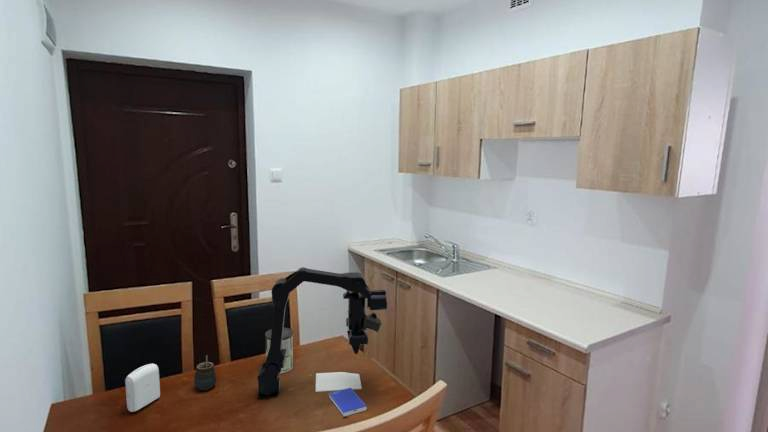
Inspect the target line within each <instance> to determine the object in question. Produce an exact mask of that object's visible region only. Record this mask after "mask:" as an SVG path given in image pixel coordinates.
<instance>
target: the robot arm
mask: <svg viewBox="0 0 768 432" xmlns="http://www.w3.org/2000/svg"><path fill="white" fill-rule="evenodd" d="M304 282H305V283H306V282H308V283H314V284H320V285H327V286H334V287H339V288H340V289H343V290H345V292H344V293H343V295H342V298H343V299H345V300H348V303H347V307H348V309H347V310H348V311H347V318H346V319H345V326H346V327H347V328H348V330H347V331H346V332H347V339H348V345H350V346H351V348H352V351H353V353H354V355H357V354H359V351H360V347H361V345H368V344H369V335H368V333H367V332H366V331H367V329H369V330H371V331H374V332H375V333H379V331H380V328H381V327H382V321H381V319H380V318H379V317H377V315H378V314H377V313H376V312H371V313H370V314H368V315H367V314H366V308H368V309H369V310H370V311H386V310H387V309H388V301H387V291H386V290H385V289H379V290H371V288H370V286H369V285H368V284H367V283H366V279H365V276H364V275H363V274H362V273H361V272H356V271H355V272H343V273H336V272H331V271H325V270H318V269H312V268H311V269H310V268H307V267H300V268H298V269H297V270H296V271H294V272H292V273H291V274H288V276H286V277H284V278H283V277H282V278H279V279H277V280H276V281H275V282H274V285H273V286H272V287H271V301H272V306H273V312H272V323H271V329H272V331H271V341H270V349H269V352H268V355H267V359H266V358H265V361H264V362H263V363H262V364H261V366H260V369H259V371H258V374H257V377H256V378H257V384H258V386H257V388H258V389H257V392H258V394H257V397H256V398H257V399H271V398H277V397H278V394H279V393H280V390H281V378H280V377H279V374H281V373H280V372H281V368H284V364H285V360H286V358H285V354H286V350H287V349H283V348H282V337H283V328H285V326H284V325H285V316H286V315H285V314H286V306H287V303H288V300H289V297H290V294H291V292H292V291H293V290H295V289H296V288H297V287H299V286H300V285H301V284H302V283H304Z"/></svg>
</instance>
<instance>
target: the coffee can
mask: <svg viewBox="0 0 768 432" xmlns="http://www.w3.org/2000/svg"><path fill="white" fill-rule="evenodd" d="M271 331H272V328H271V329H268V330H267V331H266V332H265V333H264V335H265V336H264V337H265V360H266V359H267V355H268V352H269V349H270V341H271ZM293 333H294V331H293V329H291V328H289V327H283V337H282V348H283V349H287V350H286V354H285V358H286V360H285V364H284V368H281V372H280V373H279V374H283V373H284V374H285V373H287V372H289V371H291V370H292V368H293V367H294V353H293V352H294V351H293V349H294V345H293V343H294V341H293V340H294V339H293V335H294V334H293Z"/></svg>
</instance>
